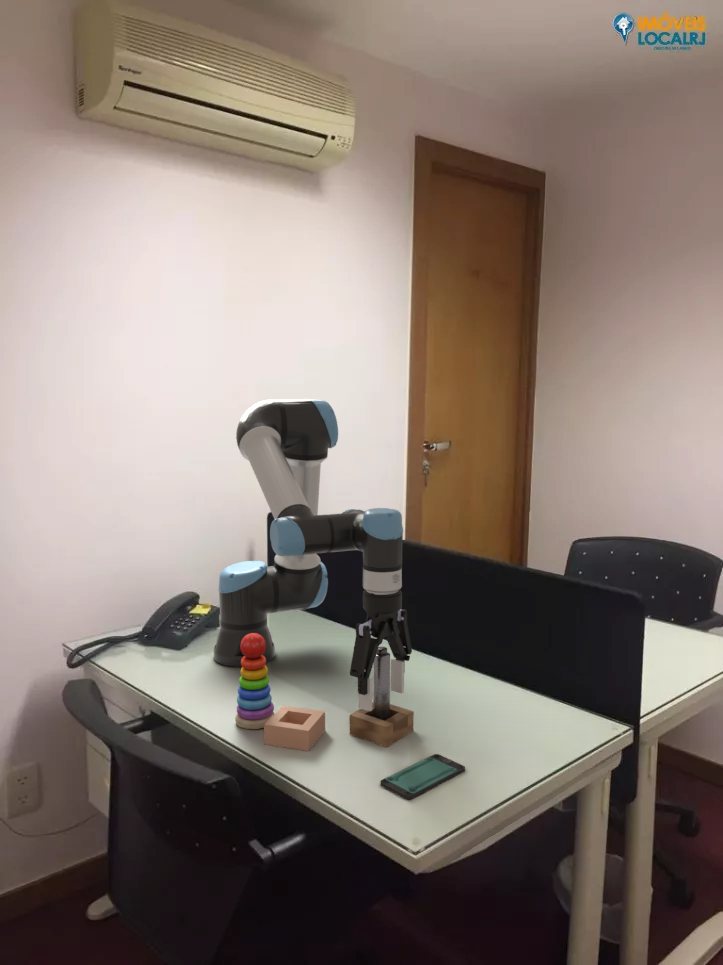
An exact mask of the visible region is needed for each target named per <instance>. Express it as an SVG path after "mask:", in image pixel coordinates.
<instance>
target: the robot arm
mask: <svg viewBox="0 0 723 965" xmlns="http://www.w3.org/2000/svg"><path fill="white" fill-rule="evenodd" d="M235 432H236V433H235V434H236V437H235V438H236V445H237V447H238V449H239V453H240V454H241V455H242V457H243V459H245V460H246V461H248V462H249V463H250V466H251V469H252V471H253V473H254V475H255V477H256V479H257V482H258V484H259V487H260V489H261V491H262V494H263V496H264V498H265V501H266V503H267V505H268V507H269V510H270V512H271V514H272V517H273V520H272V522H271V524H270V529H269V539H270V542H271V548H272V550H273V552H274V553H275V556H274V559H273V560H274V561H273V562H274V563H273V565H271V566H268V565H267V564H266V562H264V561H262V560H244V561H240V562H236V563H233V564H230V565H228V566H226V567H225V568H223V569H222V570H221V572H220V574H219V578H218V579H219V581H218V592H219V594H218V595H219V624H220V625H219V626H220V627H219V630H218V634H217V639H216V644H215V645H214V647H213V659H214V661H215V662H216V663H217V664H220V665H223V666H227V667H235V668H236V667H237V668H239V667H241V668H242V665H241V660H242V658H243V657H244V655H243V653H242V652H241V648H240V644H241V641H242V639H243V638H244V637H245V636H246V635H248V634H250V633H257V634H259V635H261V636H262V637H263V638H264V640H265V642H266V649H265V652H264V653H263V654H262V655H263V656H264V657H265V658H266V663H267V662H270V661H271V660H273V659H274V658H275V656H276V650H275V643H274V641H273V639H272V635H271V632H270V629H269V626H268V614H272V613H273V614H274V613H281V612H282V613H284V612H291V611H299V610H302V611H304V610H307V609H311V608H316V607H318V606H320V605H321V604H322V603H323V602H324V600H325V598H326V596H327V592H328V586H329V579H328V571H327V570H328V569H327V568H326V565H325V564H324V563H323V562H322V561H321V557H320V556H319V555H318V554H324V553H327V554H328V553H336V552H347V551H359V552H361V553H362V587H363V589H364V590H363V591H362V609H364V611H365V612H366V619H365V622H364V623H360V622H359V623H357V624H356V625H355V641H354V647H353V652H352V658H351V664H350V670H349V675H350V677H351V676H352V677H355V678H357V693H358V708H359V709H364V710H367V711H372V702H373V677H372V676H371V672H372V669H373V667H374V660H375V656H376V653H377V650H378V647H380V645H381V644H382V643H383V640H384V639H385V638H386V641H387V644H388V646H389V649H390V650H391V653H392V656H393V658H390V692H391V691H392V692H393V693H394V692H395V693H397V694H404V693H405V672H406V671H405V669H406V668H405V663H406V662H408V661H410V658H411V656H410V655H411V654H412V651H413V650H412V644H411V638H410V632H409V626H408V611H407V609H404V608H403V607H402V606H403V604H402V603H403V592H402V591H401V588H402V587H403V583H402V582H403V580H402V579H403V578H402V576H403V575H402V574H403V573H402V570H403V541H404V540H403V539H404V538H403V536H404V527H403V516H402V513H401V512H400V511H399V510H398V509H394V508H388V507H376V508H369V509H367V510H363V509H354V508H351V509H346V510H345V511H343V512H342V513H332V514H318V511H319V498H320V497H319V496H320V483H321V482H320V481H321V480H320V478H321V464H322V463H323V462H324V461H326V460H327V459H328V456H329V455H328V452H329V449H332V448H335V447H336V446H337V443H338V440H339V439H338V438H339V426H338V421H337V416H336V413H335V411H334V409H333V408H332V406H331V405H330V403H329V401H328V402H327V401H326V400H324V399H312V398H301V399H299V398H298V399H266V400H265V399H264V400H262V401H258V402H257V403H255V404H253V405H252V406H251V407H249V408H248V409H247V410H246V411H245V412H244V413H243V415H242V416H241V418H240V419H239V422H238V424H237V428H236V431H235ZM402 608H403V609H402ZM405 661H406V662H405Z"/></svg>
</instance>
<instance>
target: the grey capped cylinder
mask: <svg viewBox="0 0 723 965" xmlns="http://www.w3.org/2000/svg"><path fill="white" fill-rule="evenodd" d="M373 702H374V717H375V718H378V719H381V720H384V721H385V720H387V719H389V718H390V704H391V654H390V652H388V648H387V647H385V646H379V647H378V650H377V653H376V656H375V660H374V663H373Z"/></svg>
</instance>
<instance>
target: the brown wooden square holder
mask: <svg viewBox="0 0 723 965" xmlns="http://www.w3.org/2000/svg"><path fill="white" fill-rule="evenodd" d="M414 712H415V711H414V710H410V709H407V708H404V707H402V706H398V705H396V704H395V705H394V704H392V703H390V718H389V719H387V720H385V721H384V720H381V719H378V718H375V717H374V701H372V711H367V710H364V709H361V708H359V709H357V710H356V711H354V712H352V713H350V714H349V735H351V736H354V737H357V738H359V739H362V740H365V741H368V742H370V743H373V744H376V745H380V746H382V747H385V748H388V747H390V746H391V745H393V744H394V743H396V742H397V741H399V740H401V739H403V738H404V737H405V736H407V735H409V734H411V733H412V732H414V724H415V722H414V721H415V720H414V719H415V718H414V716H415V715H414V714H415V713H414Z"/></svg>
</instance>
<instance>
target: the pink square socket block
mask: <svg viewBox="0 0 723 965" xmlns="http://www.w3.org/2000/svg"><path fill="white" fill-rule="evenodd" d="M263 730H264V732H263V733H264V734H263V735H264V736H263V737H264V738H263V739H264V741H263V743H264V745H267V746H272V747H280V748H287V749H293V750H299V751H306V752H309V751H310V750H311V749H312V747H313V746H314V745H315V744H316V743H317V741H318V740H319V739H320V737H321V736H322V735H323V734H324V733H325V731H326V711H325V710H317V709H310V708H305V707H304V708H303V707H295V706H289V705H288V706H287V705H282V706H281V707H280V708H279V709H278V710H277V711H276V712H274V715H273V716H272V717H271V718H270V719H269V720H268V721H267V722H266V723H265V724H264V728H263Z"/></svg>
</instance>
